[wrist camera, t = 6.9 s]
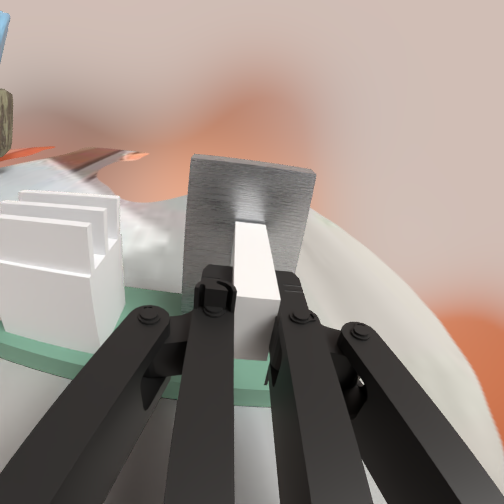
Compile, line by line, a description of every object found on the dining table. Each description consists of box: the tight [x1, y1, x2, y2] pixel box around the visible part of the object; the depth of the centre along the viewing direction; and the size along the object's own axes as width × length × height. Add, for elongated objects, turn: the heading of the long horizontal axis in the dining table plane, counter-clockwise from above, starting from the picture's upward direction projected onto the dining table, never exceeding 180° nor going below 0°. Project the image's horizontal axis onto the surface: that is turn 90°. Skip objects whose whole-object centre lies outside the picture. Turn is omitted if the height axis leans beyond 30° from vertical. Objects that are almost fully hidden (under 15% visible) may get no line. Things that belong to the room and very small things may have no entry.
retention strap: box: [181, 154, 316, 314], centre depth 19 cm, size 6×4×10 cm, turn 92°
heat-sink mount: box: [0, 190, 271, 407], centre depth 17 cm, size 20×8×9 cm, turn 92°
